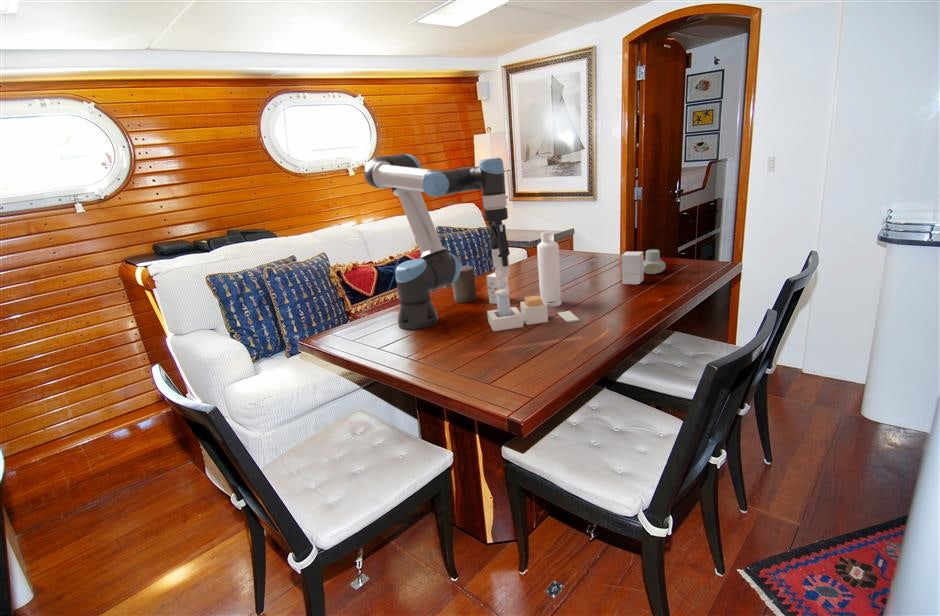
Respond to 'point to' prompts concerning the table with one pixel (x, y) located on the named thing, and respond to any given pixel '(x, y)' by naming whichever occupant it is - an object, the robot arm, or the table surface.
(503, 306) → the grey rounded cylinder
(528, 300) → the plunger
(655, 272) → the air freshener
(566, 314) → the rubber mat
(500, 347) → the table surface
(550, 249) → the bottle
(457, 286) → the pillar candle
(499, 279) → the ink cartridge box
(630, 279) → the supplement box
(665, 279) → the table surface
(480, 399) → the table surface
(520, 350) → the table surface
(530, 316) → the white compartment holder
